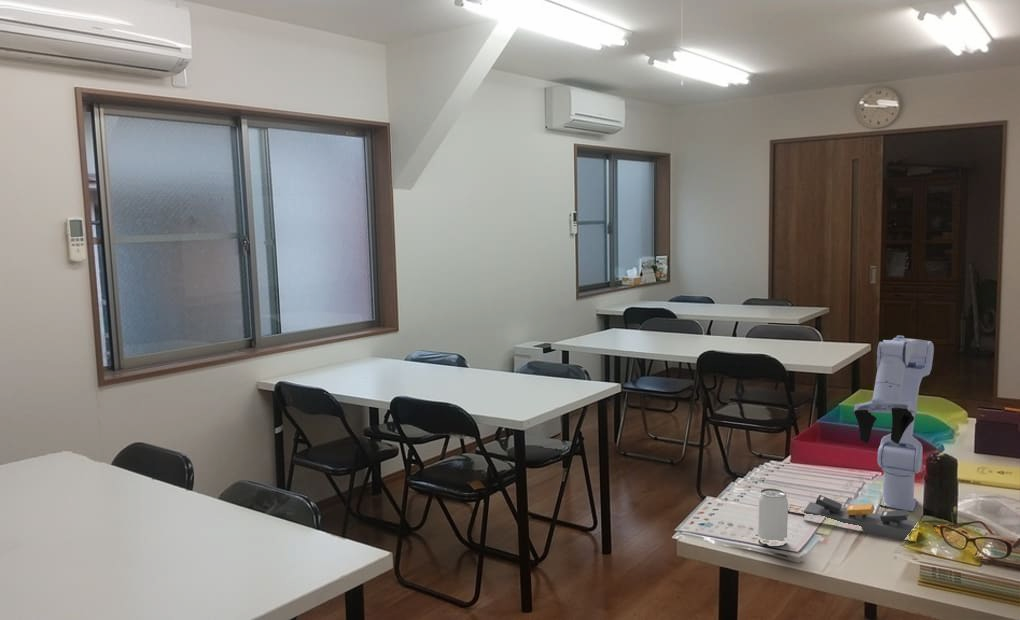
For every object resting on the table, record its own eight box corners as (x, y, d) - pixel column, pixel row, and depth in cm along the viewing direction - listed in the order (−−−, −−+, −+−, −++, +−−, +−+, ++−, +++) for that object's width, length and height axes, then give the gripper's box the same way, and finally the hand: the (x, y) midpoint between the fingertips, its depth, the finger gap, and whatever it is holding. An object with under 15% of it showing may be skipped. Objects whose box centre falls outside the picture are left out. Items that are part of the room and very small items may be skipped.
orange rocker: (850, 512, 186) (848, 505, 186) (874, 511, 183) (873, 503, 183) (848, 517, 183) (846, 510, 183) (872, 516, 180) (870, 508, 180)
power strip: (789, 507, 196) (790, 494, 196) (919, 531, 179) (920, 517, 179) (783, 516, 190) (783, 503, 190) (916, 542, 174) (917, 528, 173)
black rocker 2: (884, 518, 182) (882, 511, 182) (909, 517, 179) (907, 510, 179) (882, 523, 179) (880, 516, 179) (907, 522, 176) (905, 515, 176)
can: (788, 548, 172) (790, 498, 170) (759, 546, 173) (760, 497, 172) (784, 536, 178) (785, 488, 177) (756, 535, 180) (757, 487, 178)
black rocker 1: (817, 500, 190) (819, 494, 190) (840, 510, 187) (842, 504, 187) (814, 505, 187) (816, 499, 187) (837, 515, 184) (839, 508, 184)
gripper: (850, 382, 181) (840, 435, 177) (907, 378, 169) (898, 435, 164) (867, 393, 184) (859, 446, 179) (925, 391, 172) (917, 447, 167)
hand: (879, 441), depth 172 cm, fingers open, 7 cm apart
